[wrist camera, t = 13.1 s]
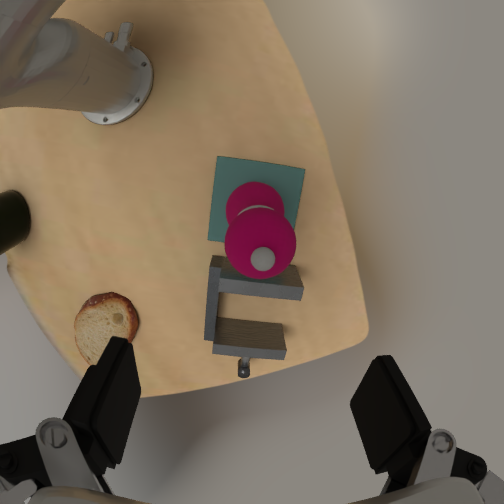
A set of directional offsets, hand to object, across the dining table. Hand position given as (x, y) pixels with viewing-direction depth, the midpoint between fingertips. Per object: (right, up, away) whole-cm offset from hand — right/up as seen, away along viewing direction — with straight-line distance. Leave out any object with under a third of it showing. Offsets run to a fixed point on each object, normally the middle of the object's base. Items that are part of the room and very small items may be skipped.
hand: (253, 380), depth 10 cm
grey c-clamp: (-1, -5, +36) cm, 36 cm away
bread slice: (-28, -11, +38) cm, 48 cm away
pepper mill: (0, +11, +29) cm, 31 cm away
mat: (0, +11, +29) cm, 31 cm away
